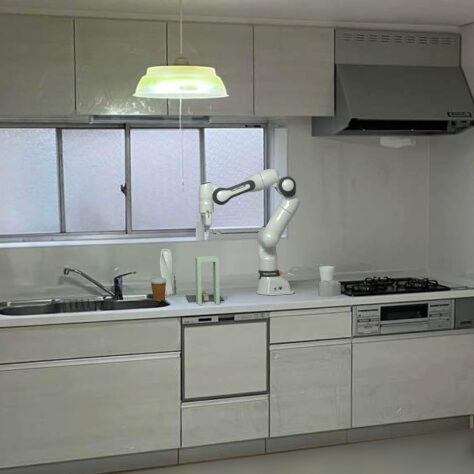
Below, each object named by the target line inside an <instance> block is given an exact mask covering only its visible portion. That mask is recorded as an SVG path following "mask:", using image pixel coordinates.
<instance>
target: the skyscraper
mask: <svg viewBox="0 0 474 474" xmlns="http://www.w3.org/2000/svg"><path fill="white" fill-rule="evenodd" d="M159 266H160V268H159V269H160V274H161V275H160V277H161V278H165V279H166V281H167V282H166V289H165V296H166V295H170V296H169V297H172V296H175V295H177V294H178V293H177V287H176V286H177V285H176V284H177V283H176V282H177V280H176V274H175V272H174V273H172V272H173V256H172V251H171V250H170V249H168V248H162V249H161V250H160V259H159ZM172 274H173V281H172V279H171V277H172ZM172 282H173V285H172ZM171 295H172V296H171Z"/></svg>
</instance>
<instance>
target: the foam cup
mask: <svg viewBox="0 0 474 474" xmlns="http://www.w3.org/2000/svg"><path fill="white" fill-rule="evenodd" d="M318 268H319V269H318V270H319V276H320V283H321V282H322V281H323V280H327V281H329V280H334V275H335V266H331V265H323V266H319V267H318Z"/></svg>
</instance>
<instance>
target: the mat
mask: <svg viewBox="0 0 474 474" xmlns="http://www.w3.org/2000/svg"><path fill="white" fill-rule="evenodd" d="M207 295H208V296H209V300H204V299H203V298H202V303H209V302H214V293H211V294H208V293H207ZM185 298H186V300H187V303H196V294H191V295H190V294H188V295H185ZM224 301H225V300H224V298H223V297H222V296H221V295H220V302H224Z"/></svg>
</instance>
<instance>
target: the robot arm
mask: <svg viewBox="0 0 474 474" xmlns="http://www.w3.org/2000/svg"><path fill="white" fill-rule="evenodd" d="M271 187H272V188H274V189H275V191H277V193H278V194H279V195H281V196H282V198H281V201H280V202H279V204H278V206H277V207H276V208H275V209H274V211H273V213H272V214H271V216H270V218H269V220H268V222H267V224H266V225H265V227H263V228H260V230H259V231H258V233H257V235H256V236H257V237H256V239H257V251H258V252H257V253H258V273H257V279H258V285H257V291H256V294H257V295H263V296H265V295H266V296H280V295H294V294H295V291H294V290H293V289H291V284H290V282H289V281H288V280H287V279H285V278H284V277H282V274H283V271H282V270H280V269H278V253H277V245H278V243H279V242H280V240H281V238H282V236H283V234H284V233H285V230H286V228H287V227H288V225H289V223H290V222H291V220H292V219H293V217H294V216H295V215H296V213H297V212H298V209H299V207H300V204H301V199H300V197H299V196H298V195H296V194H297V183H296V180H295V179H294V178H293V177H291V176H281V175H280V172H279V171H278V170H277V169H276V168H267V169H263V170H260V171H257V172H255V173H252V174H251V175H249V176H248V177H246V179H245V180H243V181H242V182H240V183H238V184H235V185H232V186H229V187H221V186H219V185H216V184H214V183H213V182H212V181H211V182H210V181H208V182H204V183H203V182H202V183H201V184H200V185H199V188H198V201H199V202H198V213H200V218H201V219H200V222H201V224H202V225H203V231H204V233H206V234H210V229H211V226H212V216H213V213H215V205H214V204H216V205H218V206H223V205H226V204H228V202H229V201H230V200H231V199H233V198H236V197H238V196H240V195H243V194H247V193H256V192H260V191H263V190H266V189H269V188H271Z"/></svg>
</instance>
